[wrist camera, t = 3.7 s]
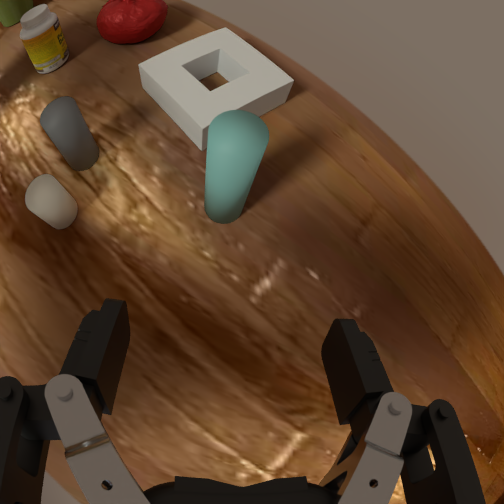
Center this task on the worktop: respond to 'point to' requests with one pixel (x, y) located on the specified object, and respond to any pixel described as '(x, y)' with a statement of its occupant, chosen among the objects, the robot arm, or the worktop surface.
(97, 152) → the charcoal pin
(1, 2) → the plant pot
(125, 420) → the worktop surface
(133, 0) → the pomegranate
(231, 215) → the teal pin
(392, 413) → the robot arm
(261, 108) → the socket block
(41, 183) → the cream pin
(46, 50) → the supplement bottle
